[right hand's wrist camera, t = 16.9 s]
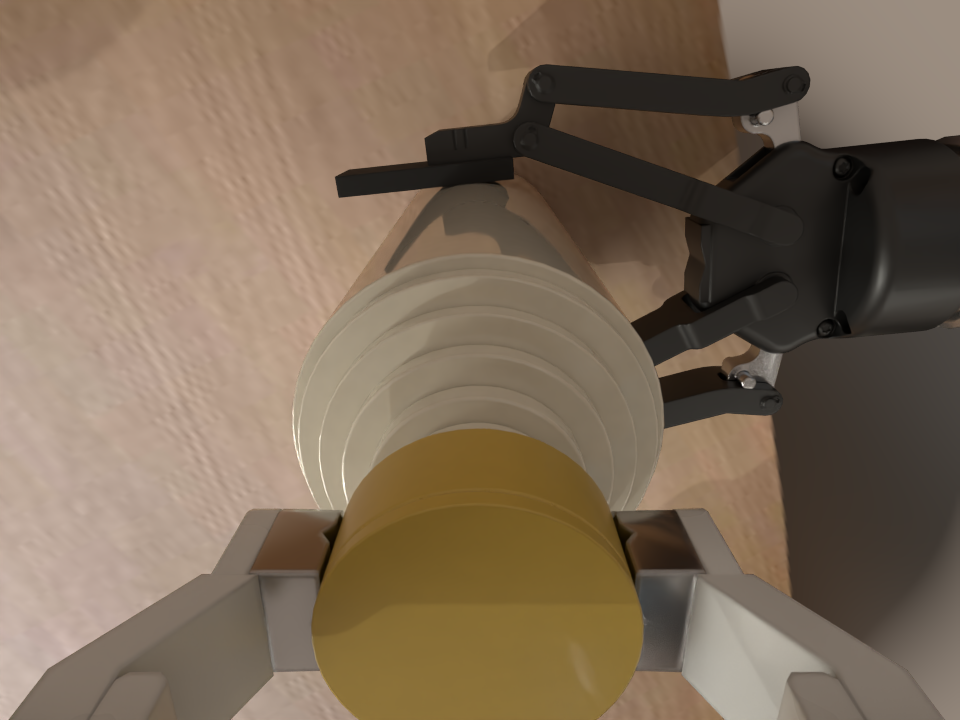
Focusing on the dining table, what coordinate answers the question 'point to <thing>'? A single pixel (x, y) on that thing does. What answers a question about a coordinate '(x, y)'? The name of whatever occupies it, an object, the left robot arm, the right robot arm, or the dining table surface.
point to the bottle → (478, 348)
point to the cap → (477, 587)
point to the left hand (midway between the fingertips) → (364, 292)
